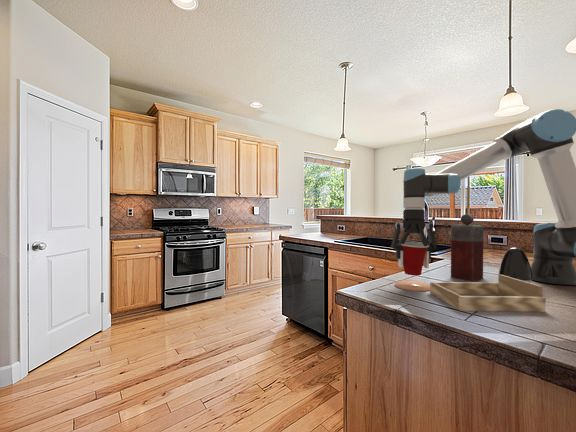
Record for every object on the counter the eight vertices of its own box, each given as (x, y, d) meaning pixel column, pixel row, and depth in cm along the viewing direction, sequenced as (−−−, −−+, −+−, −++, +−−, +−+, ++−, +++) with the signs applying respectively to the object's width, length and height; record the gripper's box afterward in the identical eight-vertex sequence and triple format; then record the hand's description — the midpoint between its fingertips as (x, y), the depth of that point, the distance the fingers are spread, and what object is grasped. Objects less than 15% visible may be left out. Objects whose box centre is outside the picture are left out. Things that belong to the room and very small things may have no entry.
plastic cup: (418, 278, 100) (418, 245, 100) (392, 273, 109) (392, 242, 109) (434, 274, 106) (435, 243, 106) (408, 270, 115) (408, 241, 115)
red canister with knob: (486, 279, 120) (486, 214, 120) (472, 283, 114) (473, 214, 114) (463, 276, 127) (464, 214, 127) (450, 278, 121) (450, 214, 121)
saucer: (422, 282, 114) (422, 280, 114) (439, 291, 101) (439, 288, 101) (390, 282, 114) (390, 280, 114) (403, 291, 101) (403, 288, 101)
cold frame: (499, 293, 98) (499, 274, 98) (545, 311, 80) (545, 287, 80) (430, 293, 99) (430, 273, 99) (460, 310, 81) (460, 286, 81)
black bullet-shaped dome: (526, 284, 112) (526, 246, 111) (536, 291, 102) (537, 249, 102) (495, 282, 116) (495, 245, 116) (502, 288, 106) (502, 248, 106)
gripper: (437, 209, 111) (436, 266, 111) (382, 209, 112) (381, 265, 112) (447, 209, 104) (447, 269, 104) (388, 208, 104) (388, 269, 104)
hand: (413, 267), depth 108 cm, fingers closed on plastic cup, 9 cm apart
